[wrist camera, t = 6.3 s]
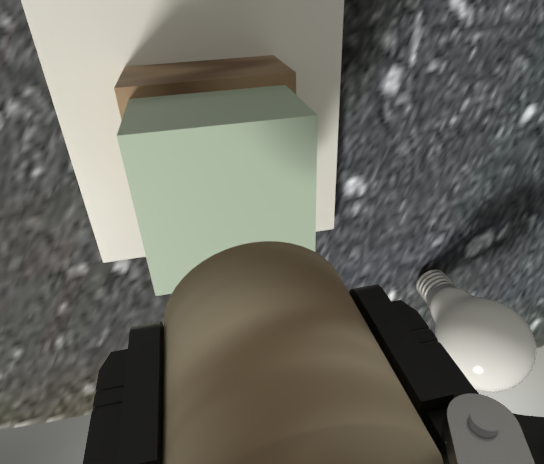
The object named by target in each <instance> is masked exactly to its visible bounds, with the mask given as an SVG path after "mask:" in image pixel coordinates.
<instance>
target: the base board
mask: <svg viewBox="0 0 544 464" xmlns="http://www.w3.org/2000/svg"><path fill="white" fill-rule="evenodd" d="M21 2H22V5H23V8H24V11H25V14H26V18H27V21H28V24H29V27H30V30H31V34H32V37H33V40H34V43H35V46H36V50H37V53H38V56H39V59H40V62H41V66H42V69H43V72H44V75H45V78H46V82H47V85H48V88H49V91H50V94H51V98H52V101H53V104H54V107H55V110H56V114H57V117H58V120H59V123H60V126H61V129H62V133H63V136H64V139H65V142H66V145H67V149H68V152H69V155H70V158H71V161H72V165H73V168H74V171H75V174H76V177H77V181H78V184H79V187H80V190H81V193H82V197H83V200H84V203H85V206H86V209H87V213H88V216H89V219H90V222H91V225H92V229H93V232H94V235H95V238H96V241H97V244H98V248H99V251H100V254H101V257H102V260H103V263H105V262H112V261H119V260H125V259H132V258H139V257H146V254H145V250H144V246H143V242H142V238H141V234H140V230H139V226H138V221H137V217H136V213H135V209H134V205H133V201H132V197H131V193H130V189H129V185H128V180H127V176H126V172H125V168H124V164H123V160H122V156H121V152H120V148H119V143H118V139H117V133H118V130H119V127H120V124H121V121H122V120H121V116H120V111H119V107H118V103H117V99H116V94H115V90H114V87H115V85H116V83H117V81H118V79H119V77H120V75H121V73H122V71H123V69H124V67H127V66H140V65H152V64H165V63H178V62H191V61H203V60H216V59H229V58H242V57H255V56H267V55H274V56H275V57H276V58H278V59H279V60H280V61H282V62H283V63H284V64H286V65H287V66H288V67H289V68H291V69H292V70H293V71H295V72H296V95H297V96H298V97H299V98H300V99H301V100H302V101H303V102H304V103H305V104H306V105H307V106H309V107H310V108H311V109H312V110H313V111H314V112H315V113H316V114H317V115H318V125H317V179H316V231H323V230H330V229H334V213H335V191H336V169H337V147H338V125H339V103H340V81H341V59H342V37H343V15H344V0H21Z"/></svg>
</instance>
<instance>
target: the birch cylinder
mask: <svg viewBox="0 0 544 464" xmlns="http://www.w3.org/2000/svg"><path fill="white" fill-rule="evenodd" d="M162 464H444V463H443V459H442V455H441V453H440V452H439V450H438V448H437V446H436V445H435V443H434V441H433V439H432V438H431V436H430V434H429V432H428V431H427V429H426V427H425V425H424V424H423V422H422V420H421V418H420V417H419V415H418V413H417V411H416V410H415V408H414V406H413V404H412V403H411V401H410V399H409V397H408V396H407V394H406V392H405V390H404V389H403V387H402V385H401V383H400V381H399V380H398V378H397V376H396V374H395V373H394V371H393V369H392V367H391V366H390V364H389V362H388V360H387V359H386V357H385V355H384V353H383V352H382V350H381V348H380V346H379V345H378V343H377V341H376V339H375V338H374V336H373V334H372V332H371V331H370V329H369V327H368V325H367V324H366V322H365V320H364V318H363V317H362V315H361V313H360V311H359V310H358V308H357V306H356V304H355V303H354V301H353V299H352V297H351V296H350V294H349V292H348V290H347V289H346V287H345V285H344V283H343V282H342V280H341V278H340V276H339V275H338V273H337V271H336V270H335V268H334V267H333V266H332V265H331V264H330V263H329V262H328V261H327V260H326V259H325V258H323V257H322V256H321V255H319V254H317V253H316V252H314V251H312V250H310V249H308V248H305V247H303V246H299V245H296V244H292V243H286V242H279V241H263V242H252V243H247V244H242V245H238V246H235V247H232V248H229V249H226V250H223V251H221V252H219V253H217V254H214V255H213V256H211V257H209V258H207V259H206V260H204V261H202V262H201V263H200V264H198V265H197V266H196V267H194V268H193V269H192V270H191V271H190V272H189V273H188V274H187V275H186V276H184V277H183V279H182V280H181V281H180V282H179V284H178V285H177V286H176V287H175V289H174V291H173V293H172V294H171V296H170V298H169V301H168V303H167V306H166V310H165V314H164V357H163V447H162Z"/></svg>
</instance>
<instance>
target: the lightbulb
mask: <svg viewBox="0 0 544 464" xmlns="http://www.w3.org/2000/svg"><path fill="white" fill-rule="evenodd" d="M416 290H417V292H418V293H419V294H420V295H421V296H422V298H423V299H424V300H425V302H426V303H427V304H428V306H429V307H430V311H431V315H432V317H433V319H434V322H435V336H436V337H437V339H438V342H440V343H441V344H442V345H443V347H444V348H445V350H446V351H447V352H448V354H449V355H450V356H451V358H452V359H453V360H454V362H455V363H456V364H457V366H458V367H459V368H460V370H461V371H462V372H463V374H464V375H465V377H466V378H467V379H468V381H469V382H470V383H471V385H472V386H473V387H474V389H475V390H478V391H483V392H500V391H505V390H508V389H511V388H513V387H515V386H517V385H518V384H520V383H521V382H522V381H523V380H524V379H525V378H526V377H527V376H528V375H529V373H530V372H531V370H532V368H533V366H534V363H535V359H536V343H535V339H534V335H533V333H532V331H531V329H530V327H529V325H528V324H527V322H526V321H525V320H524V319H523V318H522V317H521V316H520V315H519V314H518V313H517V312H516V311H515V310H513V309H512V308H510V307H509V306H507V305H505V304H503V303H500V302H497V301H494V300H490V299H485V298H479V297H474V296H472V295H471V294H469V293H468V292H466V291H465V290H463V289H460V288H457V286H456V285H455V284H454V283H452V281H451V280H450V279H449V278H448V277H447V276H446V275H445V274H444V273H443V272H442V271H441V270H437V269H434V270H430V271H427V272H425V273H424V274H422V275H421V276H420V277H419V279H418V280H417V283H416Z"/></svg>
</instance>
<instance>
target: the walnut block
mask: <svg viewBox="0 0 544 464" xmlns="http://www.w3.org/2000/svg"><path fill="white" fill-rule="evenodd" d="M278 85H286V86H287V87H288V88H289V89H291V90H292V91H293V92H294V93H295V94H296V72H295V71H293V70H292V69H291V68H289V67H288V66H287V65H286V64H284V63H283V62H282V61H280V60H279V59H278V58H276V57H275V56H274V55H267V56H255V57H242V58H229V59H216V60H203V61H191V62H178V63H165V64H152V65H140V66H127V67H124V69H123V71H122V73H121V75H120V77H119V79H118V81H117V83H116V85H115V87H114V90H115V94H116V99H117V103H118V107H119V111H120V116H121V120H122V118H123V115H124V112H125V109H126V106H127V103H128V100H129V99H133V98H144V97H156V96H167V95H178V94H189V93H200V92H211V91H222V90H234V89H245V88H256V87H267V86H278Z"/></svg>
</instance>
